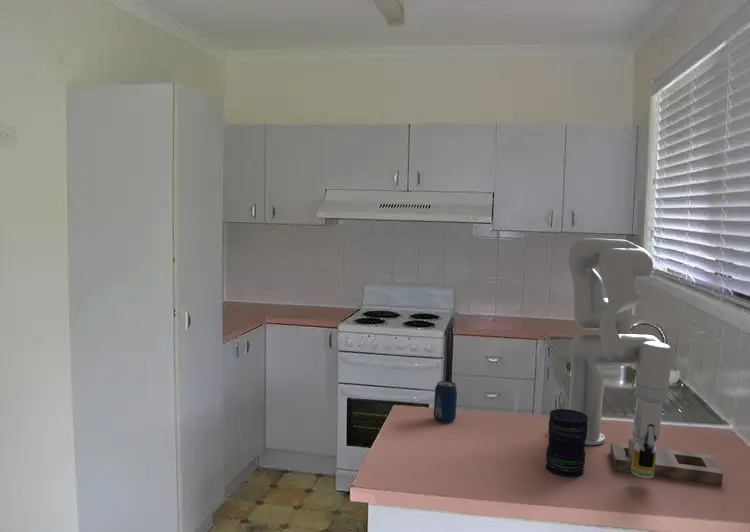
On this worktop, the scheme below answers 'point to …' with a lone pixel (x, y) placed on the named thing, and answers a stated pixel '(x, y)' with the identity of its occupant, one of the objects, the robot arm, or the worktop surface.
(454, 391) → the soda can
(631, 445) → the supplement bottle
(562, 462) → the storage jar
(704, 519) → the worktop surface
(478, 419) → the worktop surface
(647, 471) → the supplement bottle
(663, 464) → the bottle rack
